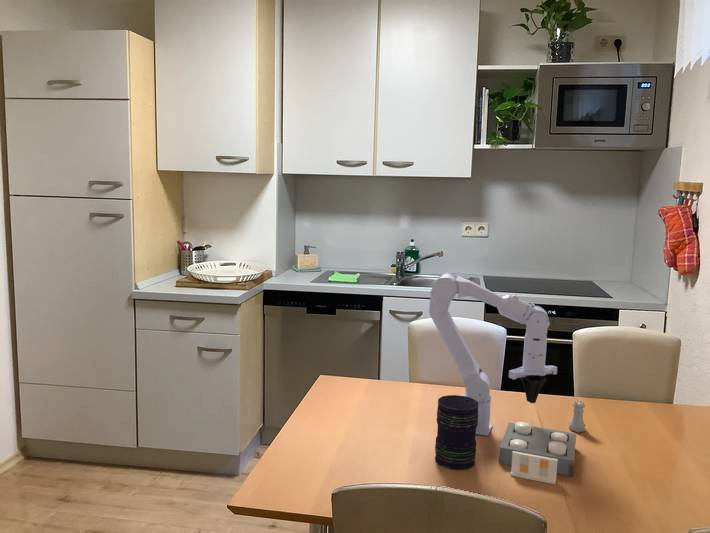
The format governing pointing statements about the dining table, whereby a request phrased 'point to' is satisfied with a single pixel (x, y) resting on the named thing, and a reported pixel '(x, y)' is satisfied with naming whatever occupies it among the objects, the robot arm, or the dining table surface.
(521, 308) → the robot arm
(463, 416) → the storage jar
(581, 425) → the rook chess piece
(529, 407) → the dining table surface
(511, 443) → the button front left
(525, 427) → the button back left
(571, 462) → the button board
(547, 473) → the pattern card
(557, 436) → the button back right
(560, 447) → the button front right
